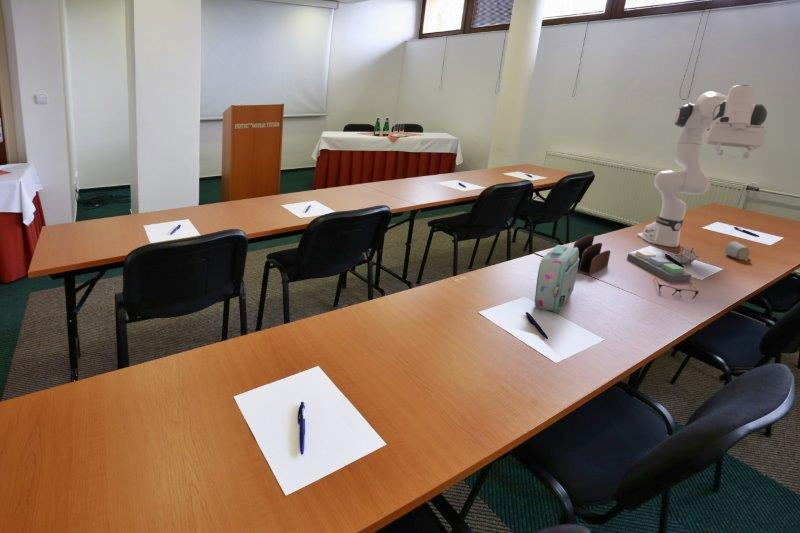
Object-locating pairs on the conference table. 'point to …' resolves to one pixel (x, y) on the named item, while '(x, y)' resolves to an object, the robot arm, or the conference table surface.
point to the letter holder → (591, 255)
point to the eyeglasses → (678, 289)
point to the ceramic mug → (737, 251)
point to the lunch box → (556, 278)
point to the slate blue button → (658, 261)
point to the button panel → (658, 269)
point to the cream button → (645, 254)
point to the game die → (686, 256)
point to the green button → (672, 268)
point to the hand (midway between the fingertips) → (732, 156)
